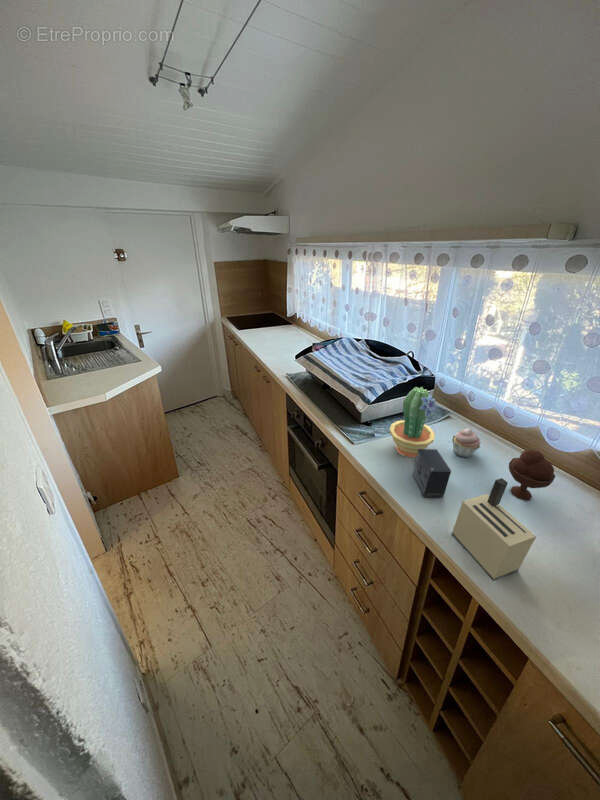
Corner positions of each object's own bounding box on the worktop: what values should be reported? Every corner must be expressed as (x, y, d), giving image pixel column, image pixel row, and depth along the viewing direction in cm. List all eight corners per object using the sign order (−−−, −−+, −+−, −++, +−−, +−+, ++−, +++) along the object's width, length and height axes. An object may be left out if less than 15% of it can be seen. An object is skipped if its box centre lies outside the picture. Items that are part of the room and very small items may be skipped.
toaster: (474, 526, 82) (486, 493, 76) (518, 570, 71) (536, 536, 65) (451, 534, 80) (462, 500, 74) (493, 580, 69) (509, 546, 63)
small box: (445, 498, 91) (453, 471, 86) (423, 498, 91) (430, 471, 86) (431, 473, 100) (437, 448, 95) (411, 474, 100) (417, 448, 95)
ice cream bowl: (494, 493, 92) (510, 453, 85) (507, 475, 99) (523, 438, 92) (535, 513, 85) (556, 472, 78) (546, 493, 92) (567, 454, 85)
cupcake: (480, 462, 105) (488, 438, 100) (451, 458, 107) (457, 434, 102) (474, 446, 113) (481, 423, 108) (447, 442, 115) (453, 420, 110)
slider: (493, 499, 74) (502, 477, 71) (499, 504, 73) (508, 482, 70) (487, 501, 74) (495, 479, 70) (492, 506, 72) (501, 484, 69)
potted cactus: (389, 461, 106) (399, 398, 94) (384, 435, 120) (393, 377, 108) (435, 465, 104) (452, 400, 92) (425, 438, 118) (439, 379, 106)
